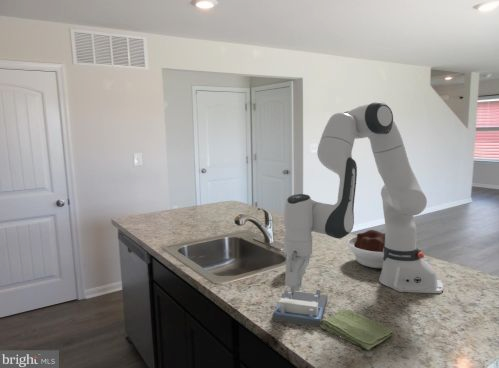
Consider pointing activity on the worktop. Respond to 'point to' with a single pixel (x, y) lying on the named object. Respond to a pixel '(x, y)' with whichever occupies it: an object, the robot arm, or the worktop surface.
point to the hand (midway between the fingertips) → (297, 289)
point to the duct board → (302, 318)
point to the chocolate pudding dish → (368, 248)
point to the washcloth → (356, 329)
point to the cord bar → (298, 306)
